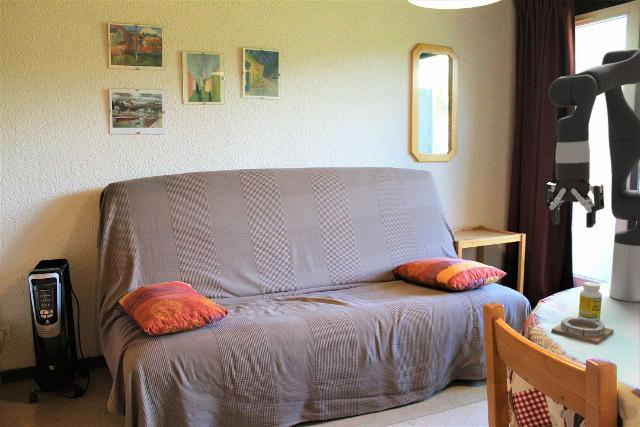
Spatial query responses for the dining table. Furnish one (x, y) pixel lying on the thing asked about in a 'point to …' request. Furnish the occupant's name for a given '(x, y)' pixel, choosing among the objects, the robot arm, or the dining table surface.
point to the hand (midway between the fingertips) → (572, 225)
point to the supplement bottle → (590, 301)
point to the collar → (583, 329)
